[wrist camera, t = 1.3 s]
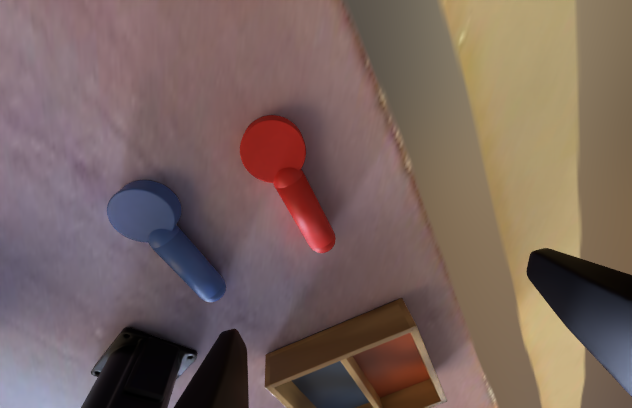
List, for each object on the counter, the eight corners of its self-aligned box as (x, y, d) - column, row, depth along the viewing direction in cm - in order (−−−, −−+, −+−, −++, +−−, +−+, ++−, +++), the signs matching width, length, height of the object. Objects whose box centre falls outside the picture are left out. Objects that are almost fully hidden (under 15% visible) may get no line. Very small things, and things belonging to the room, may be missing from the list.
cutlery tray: (433, 373, 32) (447, 401, 29) (323, 416, 33) (327, 446, 31) (401, 297, 25) (416, 325, 23) (265, 354, 27) (264, 387, 24)
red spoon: (347, 230, 21) (354, 246, 19) (302, 250, 21) (304, 268, 20) (287, 103, 16) (288, 109, 15) (230, 132, 17) (224, 141, 15)
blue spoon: (242, 277, 22) (240, 296, 20) (201, 296, 22) (194, 316, 20) (155, 169, 17) (142, 182, 15) (104, 195, 17) (84, 210, 16)
